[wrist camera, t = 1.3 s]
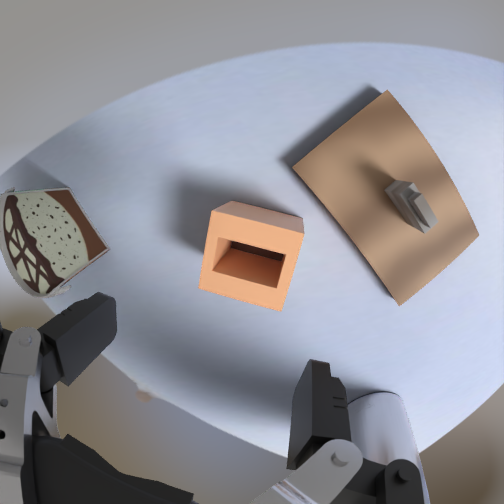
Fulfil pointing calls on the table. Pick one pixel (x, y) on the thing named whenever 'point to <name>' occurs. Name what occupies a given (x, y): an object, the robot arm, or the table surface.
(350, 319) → the table surface
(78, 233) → the food container
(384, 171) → the base board
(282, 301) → the orange open box
